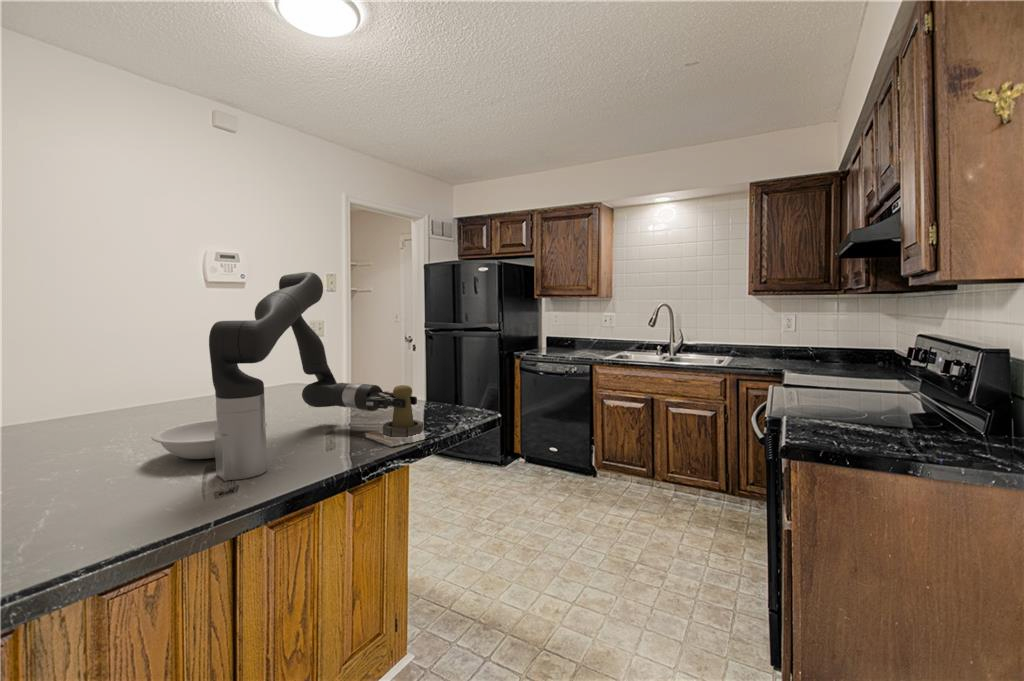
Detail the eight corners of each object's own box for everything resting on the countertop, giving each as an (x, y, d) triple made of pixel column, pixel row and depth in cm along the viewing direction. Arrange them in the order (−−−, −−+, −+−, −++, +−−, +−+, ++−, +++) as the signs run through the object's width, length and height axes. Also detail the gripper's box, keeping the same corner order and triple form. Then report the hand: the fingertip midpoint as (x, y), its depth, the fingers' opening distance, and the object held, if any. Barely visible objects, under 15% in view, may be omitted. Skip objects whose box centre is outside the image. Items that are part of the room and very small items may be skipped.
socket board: (391, 447, 127) (391, 433, 126) (364, 437, 136) (364, 424, 136) (442, 436, 138) (441, 423, 138) (413, 427, 148) (413, 415, 147)
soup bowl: (217, 474, 107) (215, 444, 106) (125, 467, 112) (124, 439, 111) (288, 444, 130) (287, 419, 130) (210, 439, 135) (209, 415, 135)
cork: (411, 427, 134) (410, 387, 133) (389, 427, 134) (388, 387, 133) (416, 422, 140) (415, 384, 139) (394, 422, 140) (394, 383, 139)
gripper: (344, 387, 136) (394, 393, 129) (378, 380, 149) (426, 384, 141) (344, 414, 136) (394, 421, 129) (379, 405, 149) (426, 410, 142)
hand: (410, 402), depth 135 cm, fingers closed on cork, 4 cm apart
